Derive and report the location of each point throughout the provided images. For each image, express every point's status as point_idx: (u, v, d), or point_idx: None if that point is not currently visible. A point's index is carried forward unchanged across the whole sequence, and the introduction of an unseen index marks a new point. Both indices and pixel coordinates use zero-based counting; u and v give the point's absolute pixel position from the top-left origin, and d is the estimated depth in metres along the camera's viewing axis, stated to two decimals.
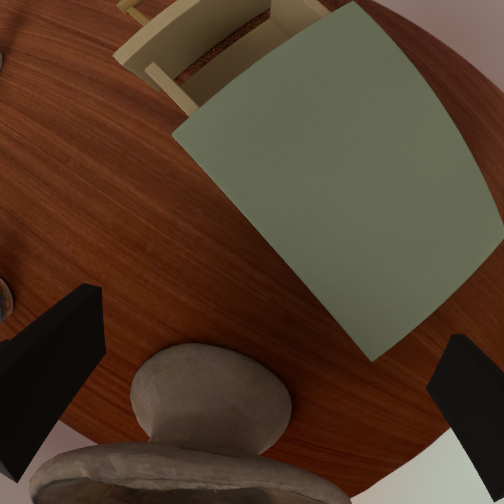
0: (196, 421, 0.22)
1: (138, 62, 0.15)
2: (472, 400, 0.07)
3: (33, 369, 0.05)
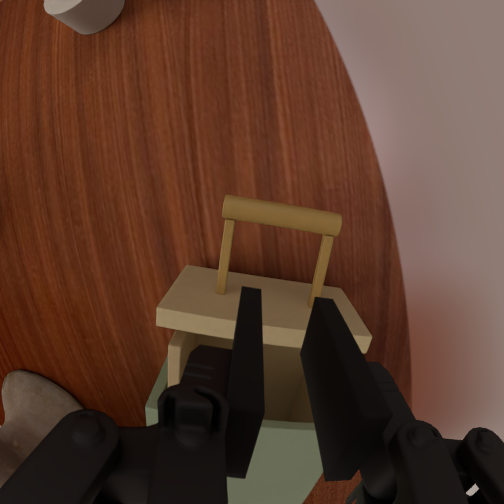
0: None
1: None
2: (318, 362, 0.09)
3: None
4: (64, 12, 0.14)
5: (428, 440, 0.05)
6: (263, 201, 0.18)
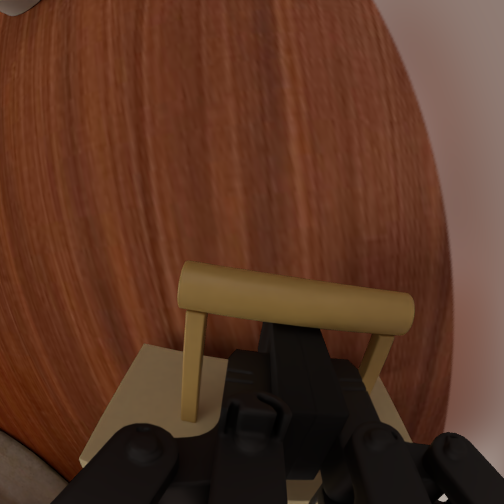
0: None
1: None
2: None
3: None
4: None
5: (387, 443, 0.05)
6: (263, 278, 0.08)
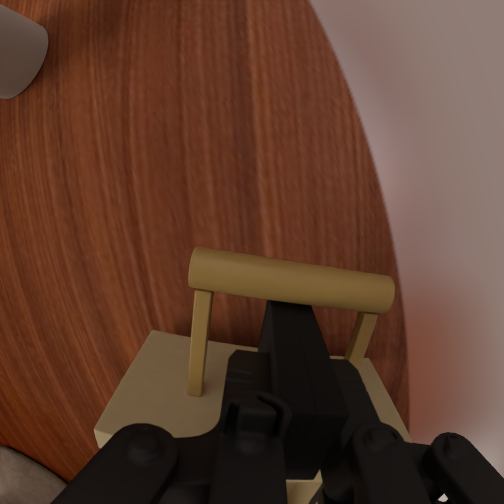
0: None
1: None
2: None
3: None
4: None
5: (386, 443, 0.05)
6: (261, 260, 0.10)
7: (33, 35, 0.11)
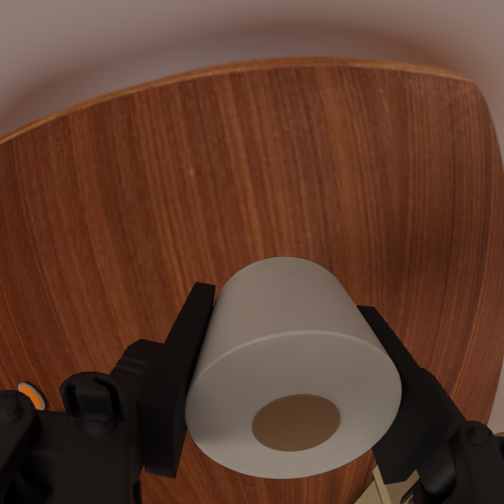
0: None
1: None
2: None
3: (193, 362, 0.07)
4: (287, 477, 0.07)
5: (484, 438, 0.04)
6: None
7: None
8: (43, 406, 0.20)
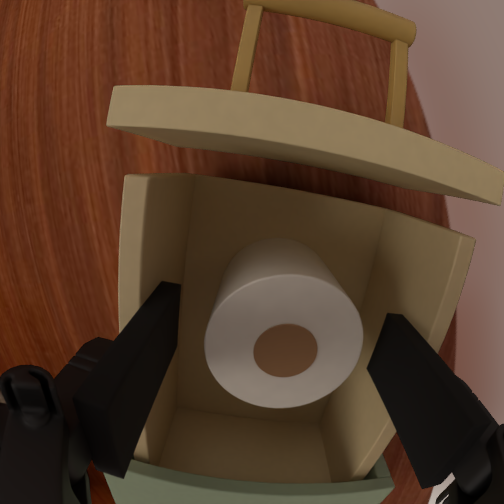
0: None
1: (145, 132, 0.08)
2: (402, 378, 0.09)
3: (144, 362, 0.07)
4: (281, 407, 0.11)
5: None
6: None
7: None
8: None
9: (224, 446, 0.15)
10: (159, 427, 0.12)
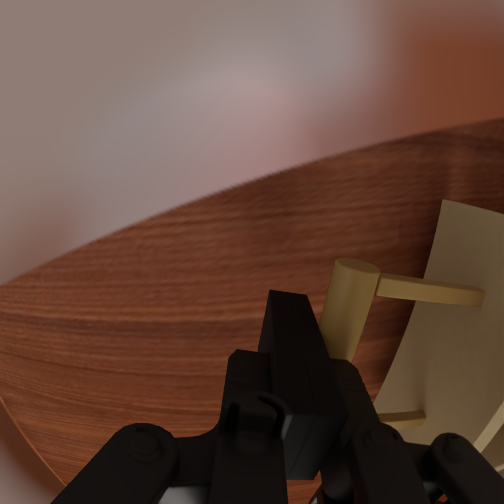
0: None
1: None
2: None
3: None
4: None
5: (386, 443, 0.05)
6: None
7: None
8: None
9: None
10: None
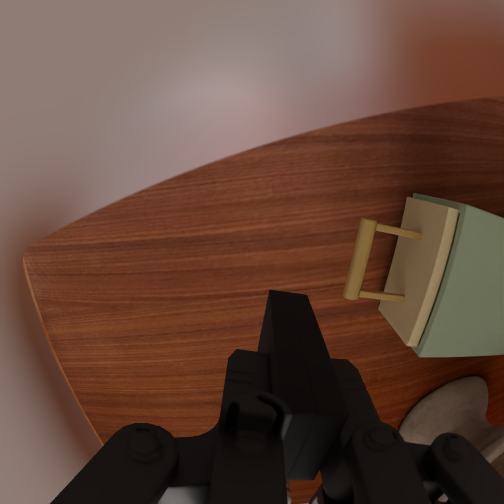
0: (456, 433, 0.29)
1: None
2: None
3: None
4: None
5: (387, 443, 0.05)
6: (350, 272, 0.25)
7: None
8: None
9: None
10: None
